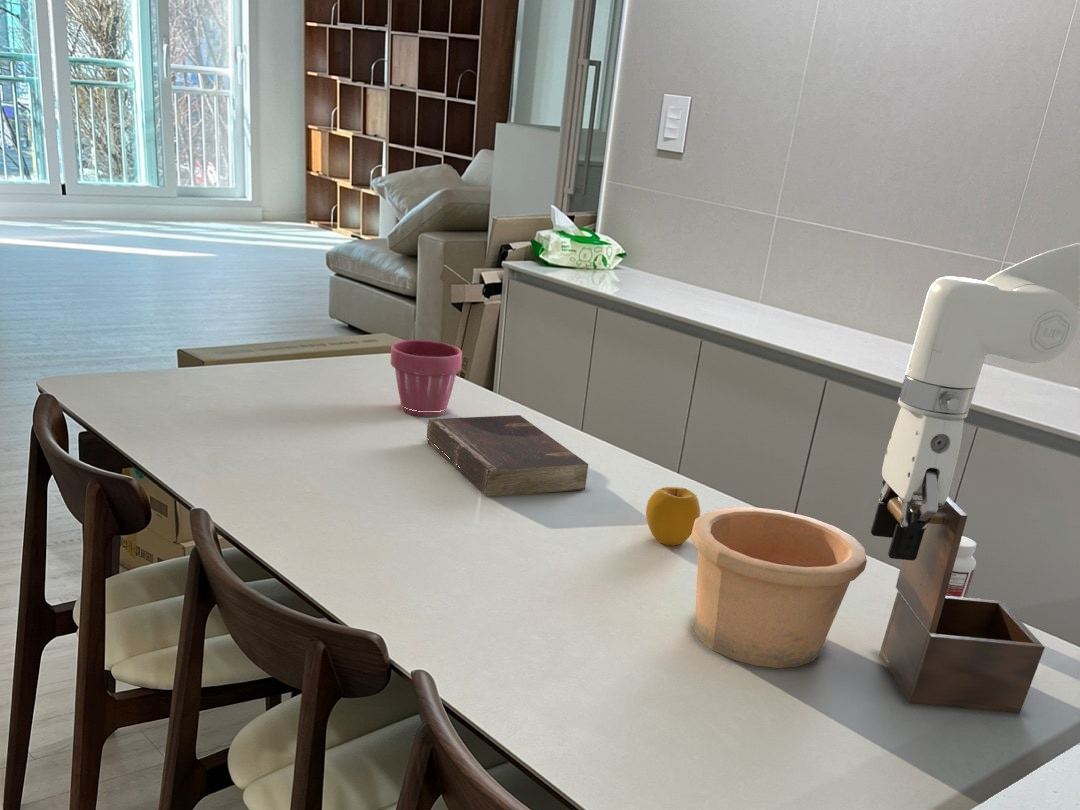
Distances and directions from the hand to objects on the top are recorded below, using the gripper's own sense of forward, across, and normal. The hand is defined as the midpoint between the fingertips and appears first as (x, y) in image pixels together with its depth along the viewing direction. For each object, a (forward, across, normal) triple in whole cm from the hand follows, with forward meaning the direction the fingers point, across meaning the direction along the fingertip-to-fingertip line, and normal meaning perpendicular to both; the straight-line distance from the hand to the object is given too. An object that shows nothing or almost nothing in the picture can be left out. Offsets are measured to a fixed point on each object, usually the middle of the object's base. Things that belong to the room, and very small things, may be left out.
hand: (892, 545), depth 125 cm
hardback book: (+18, +69, +46) cm, 85 cm away
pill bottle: (+18, +23, -19) cm, 35 cm away
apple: (+18, +40, +19) cm, 48 cm away
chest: (+18, 0, -12) cm, 21 cm away
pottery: (+18, +8, +11) cm, 23 cm away
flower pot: (+18, +100, +63) cm, 120 cm away
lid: (+1, 0, -5) cm, 5 cm away
